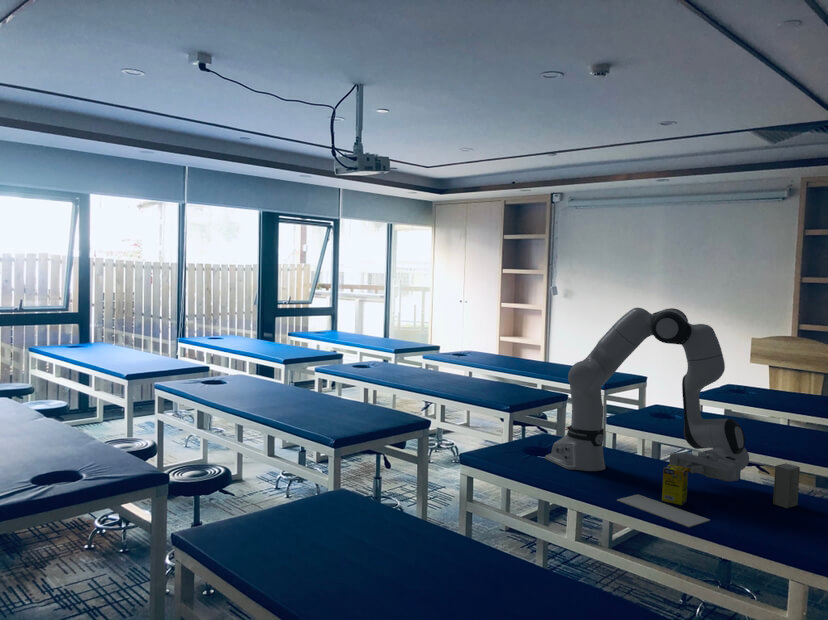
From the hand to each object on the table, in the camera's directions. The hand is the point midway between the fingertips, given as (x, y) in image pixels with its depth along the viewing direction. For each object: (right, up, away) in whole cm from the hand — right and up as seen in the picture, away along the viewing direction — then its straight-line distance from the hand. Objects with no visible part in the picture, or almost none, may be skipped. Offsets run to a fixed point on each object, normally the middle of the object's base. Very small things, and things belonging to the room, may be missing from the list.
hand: (687, 469), depth 193 cm
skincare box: (+29, -11, -2) cm, 31 cm away
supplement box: (-6, -10, -3) cm, 12 cm away
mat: (-12, -9, -10) cm, 18 cm away
